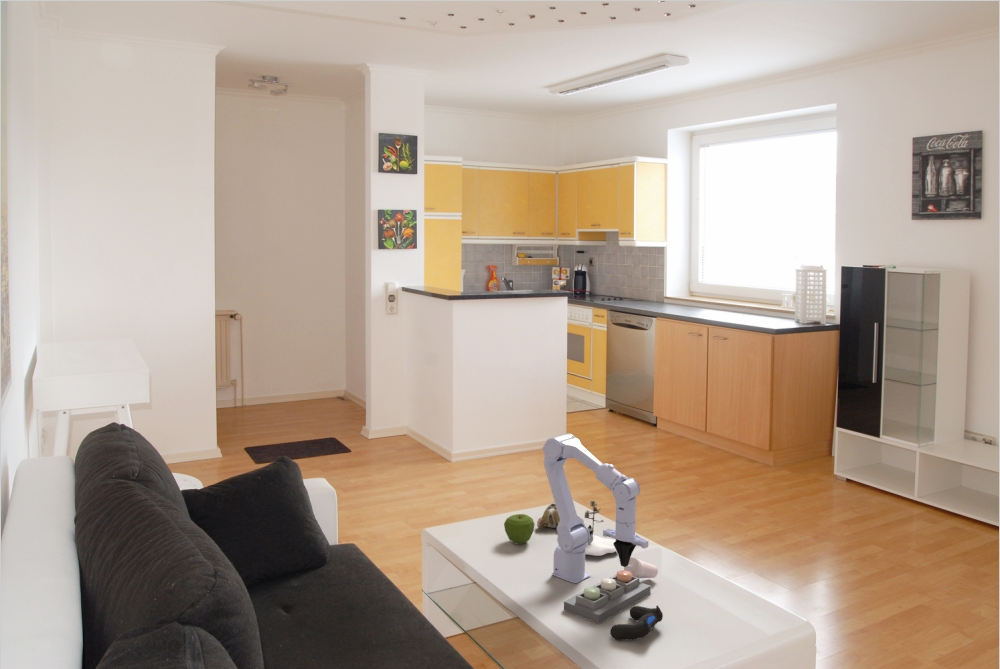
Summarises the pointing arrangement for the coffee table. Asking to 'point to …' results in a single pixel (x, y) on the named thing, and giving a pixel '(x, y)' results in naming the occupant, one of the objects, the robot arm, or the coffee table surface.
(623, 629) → the gaming controller
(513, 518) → the apple
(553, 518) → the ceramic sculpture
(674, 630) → the coffee table surface
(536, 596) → the coffee table surface
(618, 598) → the button panel
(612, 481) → the robot arm
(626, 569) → the smoothie
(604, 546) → the figurine
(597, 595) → the sage button
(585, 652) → the coffee table surface
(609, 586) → the offwhite button
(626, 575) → the peach button
